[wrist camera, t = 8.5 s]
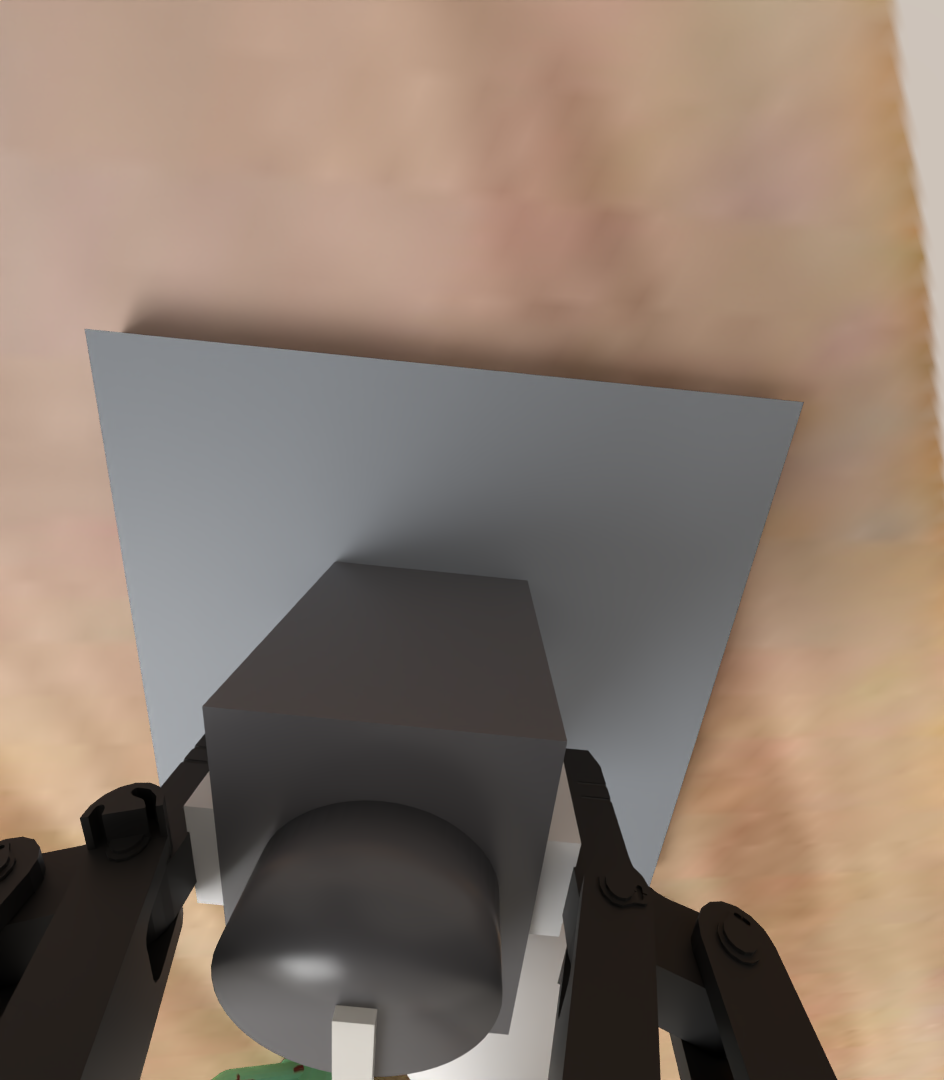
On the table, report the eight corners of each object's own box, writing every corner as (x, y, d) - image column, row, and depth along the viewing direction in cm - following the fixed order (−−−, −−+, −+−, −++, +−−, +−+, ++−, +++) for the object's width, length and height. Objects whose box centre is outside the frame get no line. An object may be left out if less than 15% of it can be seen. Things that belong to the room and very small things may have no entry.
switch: (118, 334, 13) (-133, 292, 8) (776, 401, 13) (975, 405, 8) (190, 834, 20) (78, 1000, 14) (634, 876, 20) (690, 1057, 14)
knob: (335, 561, 14) (122, 792, 6) (527, 580, 14) (590, 836, 6) (334, 764, 17) (186, 1128, 8) (498, 779, 17) (513, 1158, 8)
